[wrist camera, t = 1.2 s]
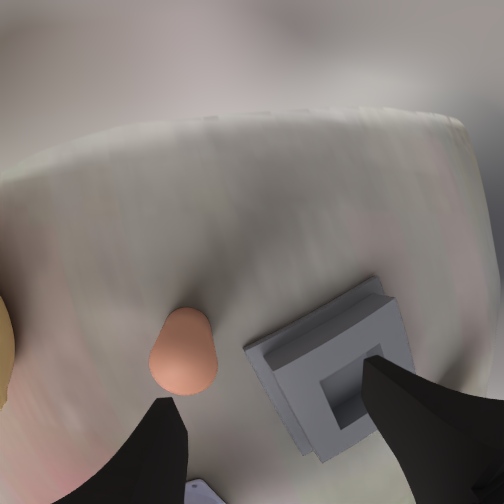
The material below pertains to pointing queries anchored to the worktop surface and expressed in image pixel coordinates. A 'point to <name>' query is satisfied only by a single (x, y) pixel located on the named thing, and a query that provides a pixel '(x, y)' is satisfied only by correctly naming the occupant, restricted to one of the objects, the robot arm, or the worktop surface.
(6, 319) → the sculpture
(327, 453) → the socket block
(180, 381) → the peg
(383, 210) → the worktop surface
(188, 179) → the worktop surface
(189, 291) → the worktop surface
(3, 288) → the worktop surface
